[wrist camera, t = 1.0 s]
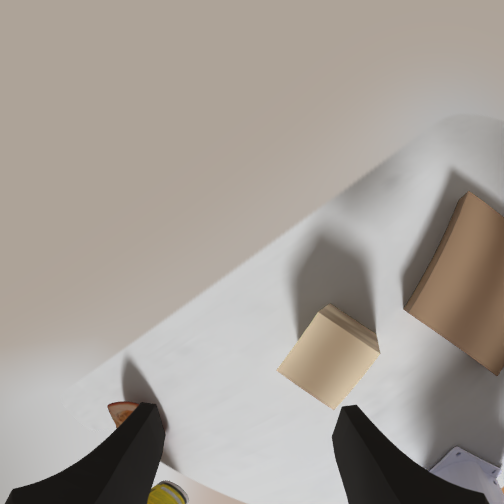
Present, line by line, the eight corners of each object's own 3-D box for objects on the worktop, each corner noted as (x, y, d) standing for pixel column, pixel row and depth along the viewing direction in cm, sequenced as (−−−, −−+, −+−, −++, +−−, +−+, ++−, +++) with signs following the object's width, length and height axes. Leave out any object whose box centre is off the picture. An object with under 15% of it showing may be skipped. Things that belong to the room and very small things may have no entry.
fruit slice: (183, 453, 25) (156, 472, 20) (146, 452, 27) (120, 467, 22) (154, 391, 27) (122, 404, 22) (121, 396, 29) (91, 406, 25)
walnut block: (534, 263, 14) (551, 261, 11) (484, 366, 15) (497, 376, 13) (457, 201, 18) (468, 190, 15) (402, 308, 19) (408, 313, 16)
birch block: (376, 334, 19) (380, 353, 14) (342, 378, 20) (334, 410, 14) (330, 303, 21) (317, 311, 16) (298, 348, 22) (276, 370, 16)
